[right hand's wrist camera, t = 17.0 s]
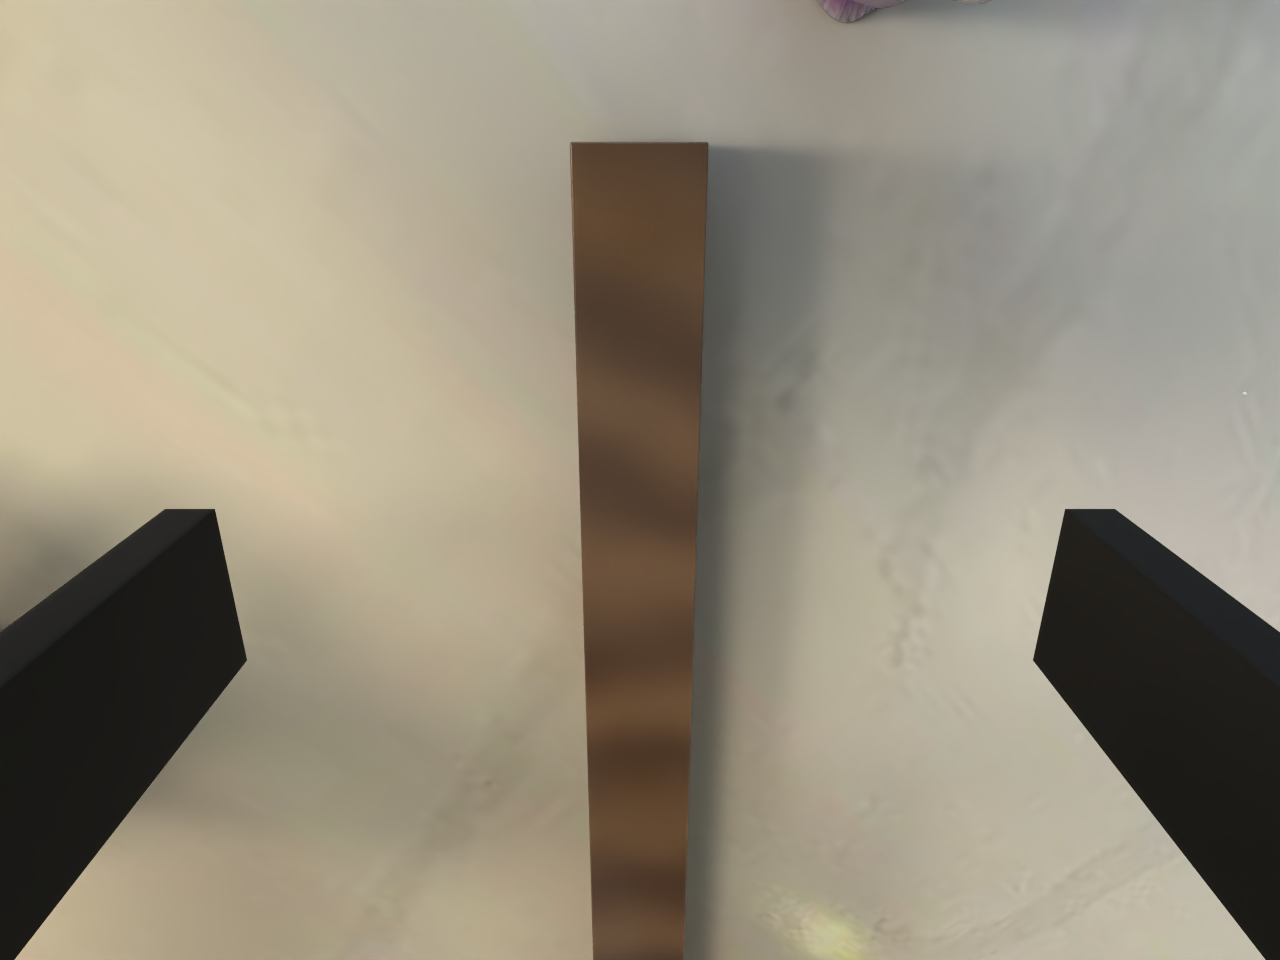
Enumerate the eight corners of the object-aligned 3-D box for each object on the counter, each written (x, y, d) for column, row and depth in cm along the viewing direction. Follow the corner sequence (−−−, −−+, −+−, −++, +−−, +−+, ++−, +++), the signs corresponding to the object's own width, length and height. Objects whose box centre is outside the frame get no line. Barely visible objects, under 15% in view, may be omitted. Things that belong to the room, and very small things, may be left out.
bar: (584, 144, 39) (569, 141, 31) (695, 144, 39) (708, 142, 31) (606, 1140, 67) (602, 1270, 59) (670, 1140, 67) (674, 1270, 59)
